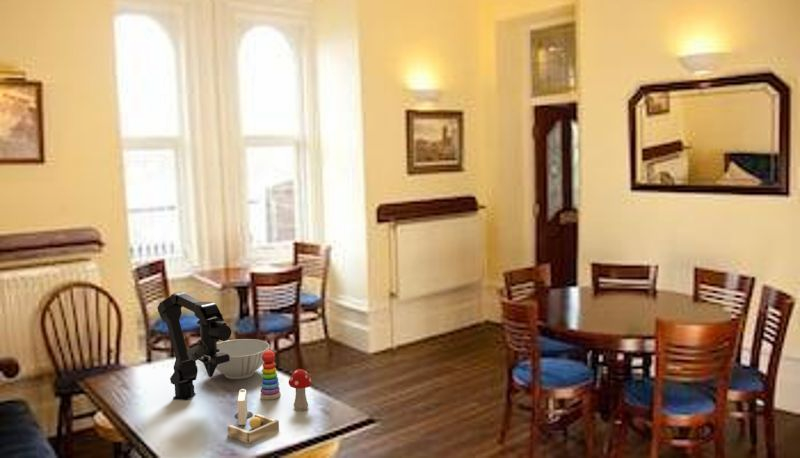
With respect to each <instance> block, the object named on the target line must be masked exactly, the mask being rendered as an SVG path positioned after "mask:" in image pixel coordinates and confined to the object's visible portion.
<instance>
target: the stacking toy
mask: <svg viewBox="0 0 800 458" xmlns="http://www.w3.org/2000/svg"><path fill="white" fill-rule="evenodd" d="M275 358H276V354H275V352H273V351H272V350H270V349H269V350H268V351H265V352H264V353H263V355H262V360H263V361H264V363H263V364H262V369H261V372H262V373H261V383H260V384H261V385H260V387H261V388H260V396H259V397H260V398H261V399H262V400H266V401H268V400H269V401H270V400H271V401H272V400H276V399H278V398H279V397H280V396H281V390H280V386H279V385H280V382H279V377H278V373H277V372H276V371H277V368H276V362H274V361H275Z"/></svg>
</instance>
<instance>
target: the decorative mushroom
mask: <svg viewBox="0 0 800 458" xmlns="http://www.w3.org/2000/svg"><path fill="white" fill-rule="evenodd" d="M312 383H313V382H312V378H311V377H310V376H309V374H308V372H307V371H306V370H305V369H302V368H298V369H296V370H294V371H293V372H292V374H291V376H290V377H289V379H288V385H289V387H291V388H294V389H295V395H294V396H295V398H294V402H293V407H294V409H295V410H296V411H299V412H304V411H306V410H307V409H308V407H309V403H308V401H307V400H308V399H307V394H306V388H309V387H311V385H312Z"/></svg>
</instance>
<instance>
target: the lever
mask: <svg viewBox="0 0 800 458" xmlns="http://www.w3.org/2000/svg"><path fill="white" fill-rule="evenodd" d="M237 397H238V398H237V413H238V418H237V420H238V426H245V425H246V424H247V423H246V422H247V418H246V417H247V411H248V405H247V404H248V400H247V389H245V388H241V389H239V392H238V396H237Z"/></svg>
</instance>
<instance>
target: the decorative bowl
mask: <svg viewBox="0 0 800 458" xmlns="http://www.w3.org/2000/svg"><path fill="white" fill-rule="evenodd" d="M270 347H271V346H270V343H268V342H267V341H264V340H261V339H255V338H254V339H252V338H242V339H241V338H238V339H231V340H229V339H228V340H226V341H220V342H217V349H219V352H217V353H221V352H223V353H226V354H228V355H230V361H228V362H225V363H221V364H218V365H217V367H216V369H215V370H216V371H218V372H219V373H221V374H223V375H224V376H225V378H227V379H230V380H241V379H247V378H250V377H252V376H254V373H255V372H256V371H257V370H259V369H260V368H261V367H263V363H265V362H264V361H263V360H262V355H263V353H264V352H265V351H268V350H270Z"/></svg>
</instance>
